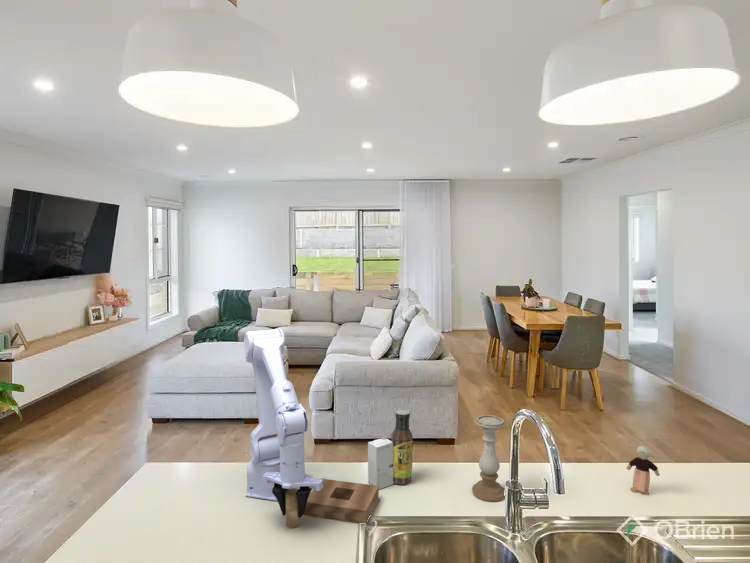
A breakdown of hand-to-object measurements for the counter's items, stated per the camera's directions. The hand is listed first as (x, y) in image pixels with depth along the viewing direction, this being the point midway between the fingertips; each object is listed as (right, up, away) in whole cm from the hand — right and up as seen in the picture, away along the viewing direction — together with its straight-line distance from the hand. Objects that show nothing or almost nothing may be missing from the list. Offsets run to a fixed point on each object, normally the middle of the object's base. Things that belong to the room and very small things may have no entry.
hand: (293, 514), depth 114 cm
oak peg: (0, -2, 0) cm, 2 cm away
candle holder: (+50, -1, +14) cm, 52 cm away
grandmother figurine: (+92, -1, +14) cm, 93 cm away
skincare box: (+21, -1, +19) cm, 28 cm away
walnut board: (+11, -2, +8) cm, 14 cm away
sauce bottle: (+27, -1, +21) cm, 34 cm away
